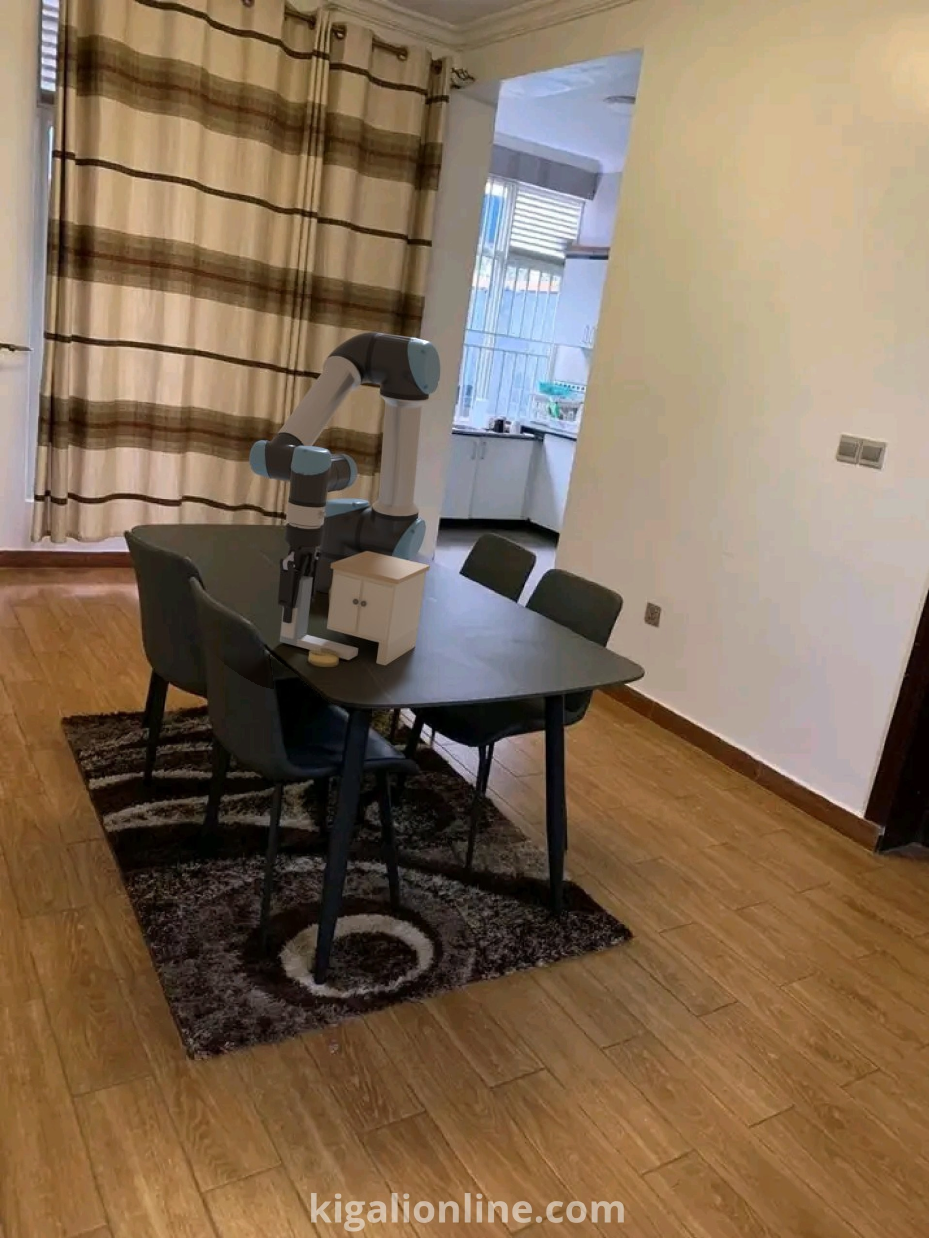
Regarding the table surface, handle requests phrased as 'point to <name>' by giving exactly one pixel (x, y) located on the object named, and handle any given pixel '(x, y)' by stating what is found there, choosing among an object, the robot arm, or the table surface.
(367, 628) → the cabinet
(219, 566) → the table surface
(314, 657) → the token
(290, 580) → the robot arm
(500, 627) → the table surface
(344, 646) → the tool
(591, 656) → the table surface
